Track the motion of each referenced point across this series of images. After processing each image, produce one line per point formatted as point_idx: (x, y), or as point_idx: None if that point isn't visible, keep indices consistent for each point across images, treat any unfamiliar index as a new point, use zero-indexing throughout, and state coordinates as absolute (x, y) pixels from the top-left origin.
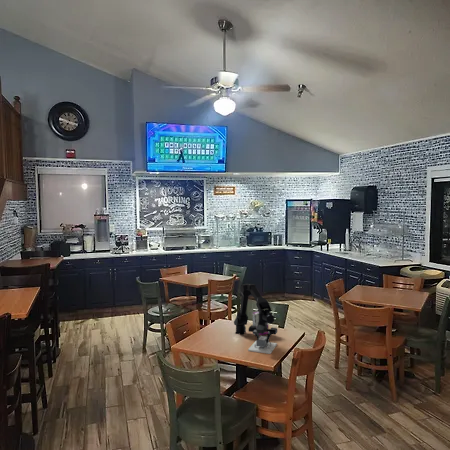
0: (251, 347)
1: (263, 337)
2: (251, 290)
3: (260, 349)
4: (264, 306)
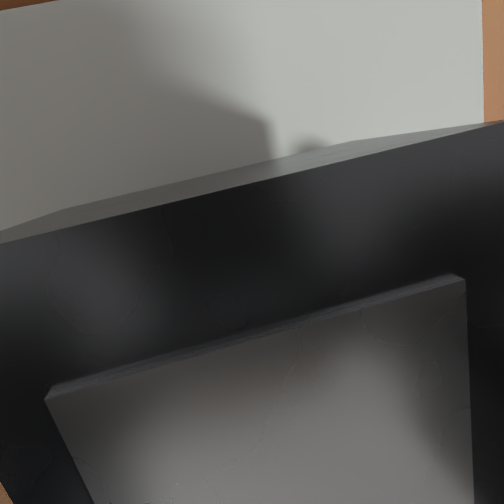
0: (449, 118)
1: None
2: None
3: (191, 118)
4: None
